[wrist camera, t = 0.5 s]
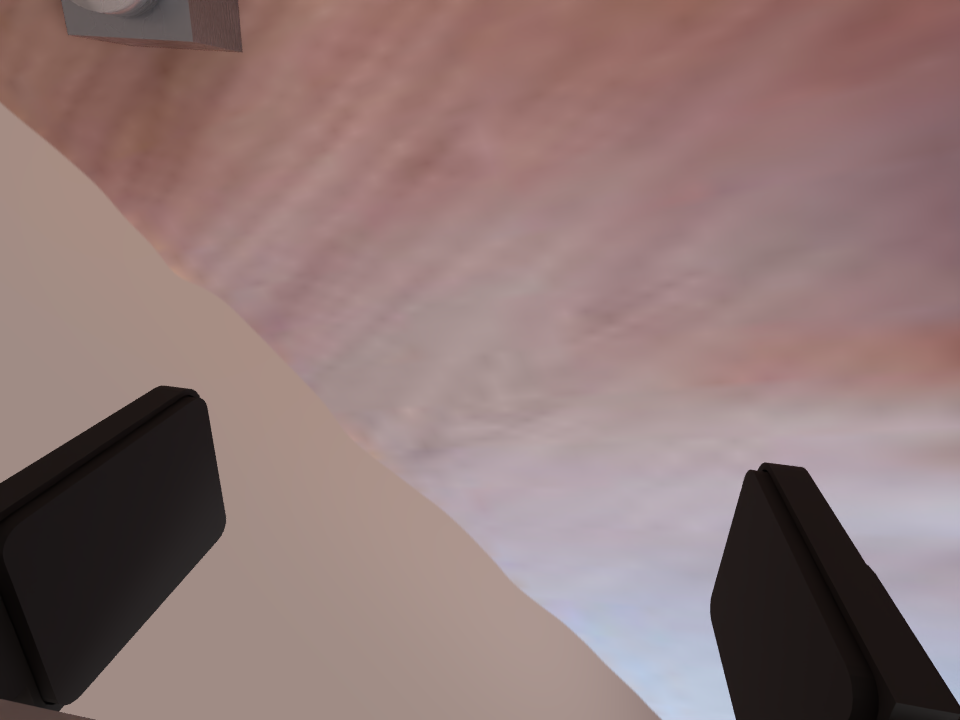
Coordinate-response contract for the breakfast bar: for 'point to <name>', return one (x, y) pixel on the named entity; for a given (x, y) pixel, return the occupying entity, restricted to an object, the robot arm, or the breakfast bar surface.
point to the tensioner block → (157, 23)
